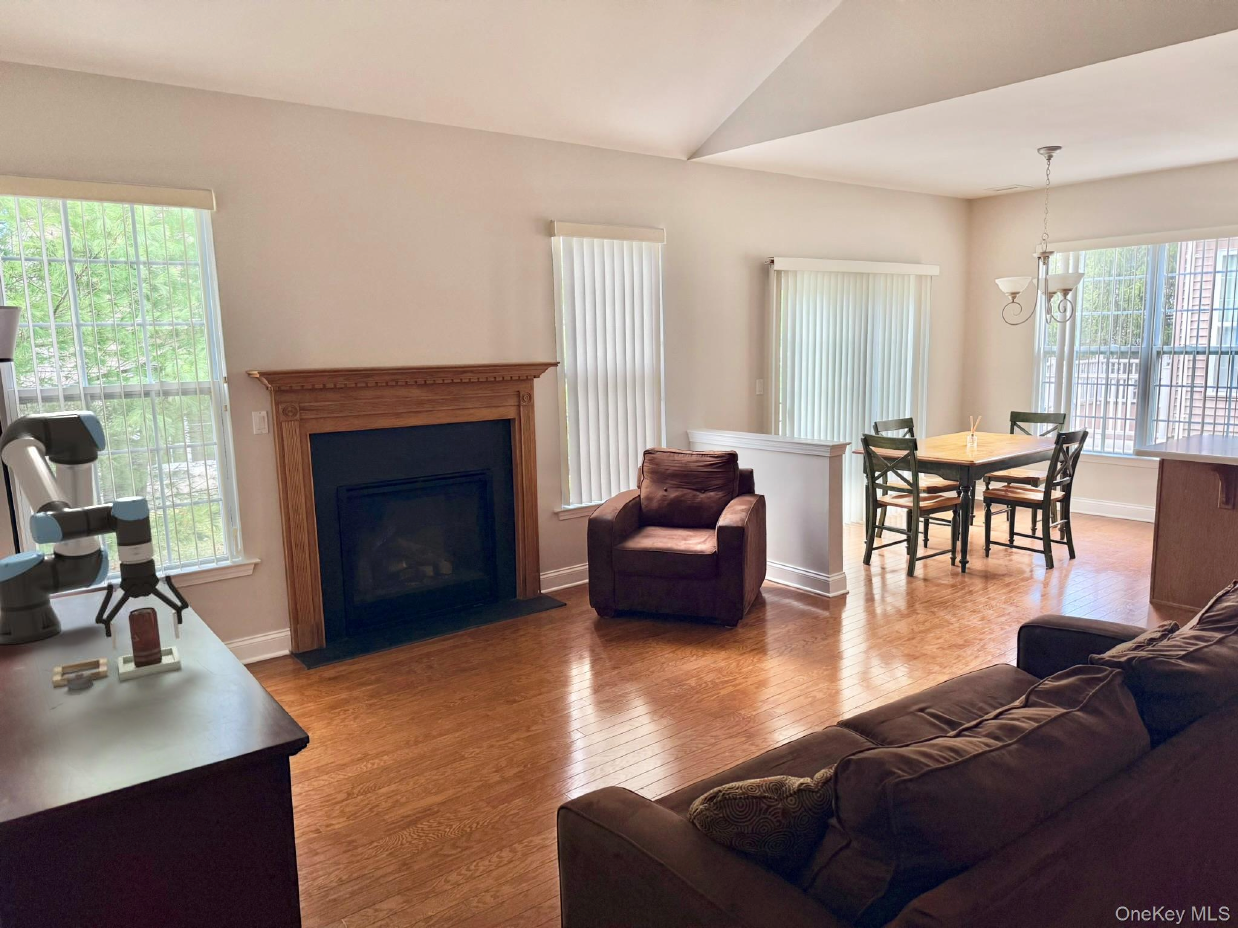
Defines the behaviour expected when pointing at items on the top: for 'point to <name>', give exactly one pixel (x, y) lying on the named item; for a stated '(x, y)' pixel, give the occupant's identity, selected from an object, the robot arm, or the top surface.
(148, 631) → the can
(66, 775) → the top surface
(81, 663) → the collar block
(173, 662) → the tray
